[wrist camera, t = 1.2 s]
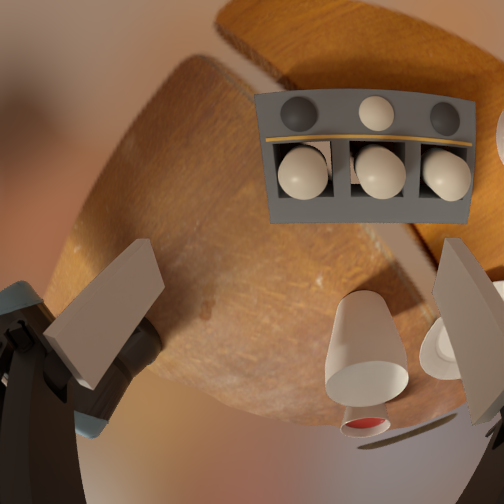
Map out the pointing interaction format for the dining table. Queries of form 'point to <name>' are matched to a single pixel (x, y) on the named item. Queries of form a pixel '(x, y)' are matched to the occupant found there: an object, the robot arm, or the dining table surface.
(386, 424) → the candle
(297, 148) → the button
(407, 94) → the board
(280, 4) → the dining table surface
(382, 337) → the cup
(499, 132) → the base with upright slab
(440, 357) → the plate
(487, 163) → the dining table surface
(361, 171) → the button
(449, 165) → the button
